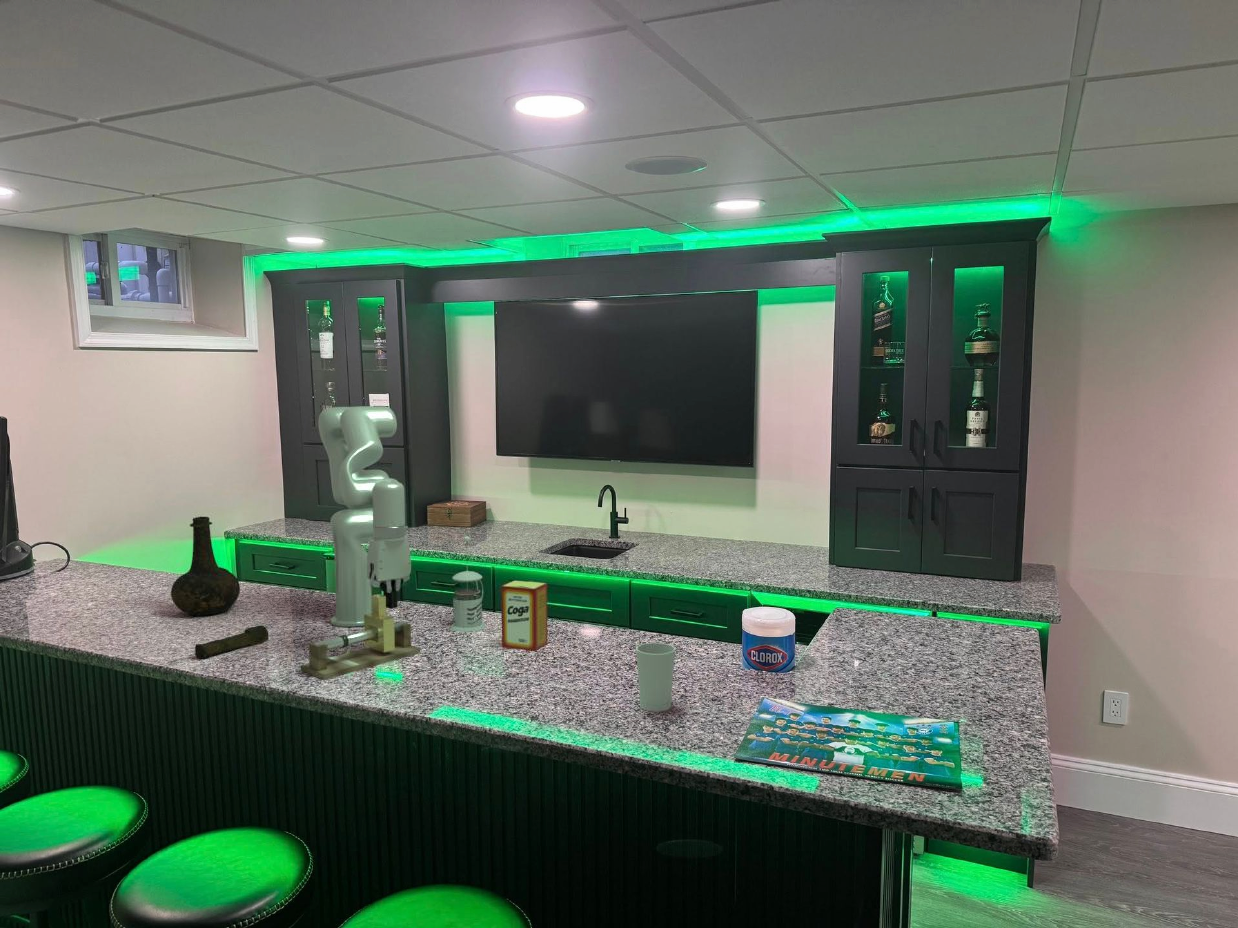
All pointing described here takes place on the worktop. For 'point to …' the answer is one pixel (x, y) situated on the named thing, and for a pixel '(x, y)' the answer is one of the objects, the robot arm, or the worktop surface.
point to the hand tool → (232, 642)
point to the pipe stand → (357, 657)
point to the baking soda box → (524, 615)
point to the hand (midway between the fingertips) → (390, 607)
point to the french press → (467, 602)
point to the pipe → (355, 637)
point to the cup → (655, 675)
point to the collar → (380, 625)
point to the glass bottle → (204, 578)
